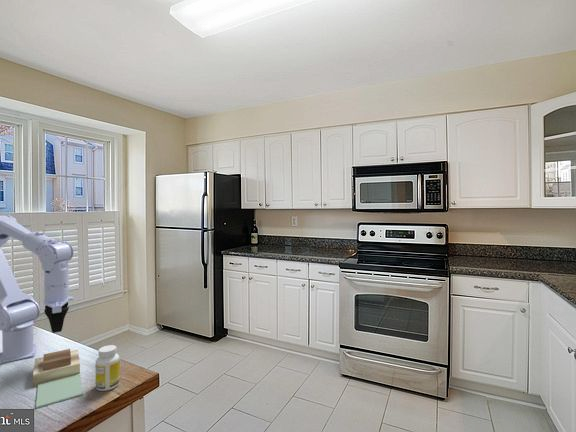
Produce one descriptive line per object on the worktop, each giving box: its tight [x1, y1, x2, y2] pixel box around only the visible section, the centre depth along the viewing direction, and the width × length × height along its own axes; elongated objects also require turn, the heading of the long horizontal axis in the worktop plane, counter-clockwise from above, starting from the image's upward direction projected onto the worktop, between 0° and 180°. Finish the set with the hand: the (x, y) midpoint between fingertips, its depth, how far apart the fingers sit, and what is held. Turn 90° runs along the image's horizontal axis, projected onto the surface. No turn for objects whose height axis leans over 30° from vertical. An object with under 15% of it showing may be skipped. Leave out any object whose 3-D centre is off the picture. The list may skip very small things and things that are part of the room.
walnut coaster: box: [43, 348, 71, 371], centre depth 86 cm, size 6×6×2 cm
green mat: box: [35, 373, 84, 409], centre depth 79 cm, size 11×9×1 cm
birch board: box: [32, 349, 81, 387], centre depth 87 cm, size 10×10×3 cm
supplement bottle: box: [95, 344, 121, 392], centre depth 81 cm, size 5×5×10 cm
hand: (56, 330), depth 93 cm, fingers open, 2 cm apart
